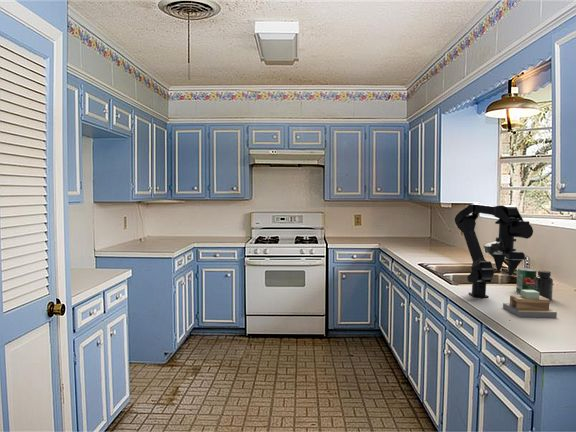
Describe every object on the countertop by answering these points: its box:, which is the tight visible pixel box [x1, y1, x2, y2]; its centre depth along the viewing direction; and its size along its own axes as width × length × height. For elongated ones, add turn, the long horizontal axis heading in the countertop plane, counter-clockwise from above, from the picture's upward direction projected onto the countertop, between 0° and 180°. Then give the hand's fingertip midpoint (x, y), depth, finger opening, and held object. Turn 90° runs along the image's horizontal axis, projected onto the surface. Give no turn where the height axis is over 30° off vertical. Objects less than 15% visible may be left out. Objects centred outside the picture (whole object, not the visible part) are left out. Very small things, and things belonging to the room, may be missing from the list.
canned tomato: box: [515, 267, 538, 294], centre depth 198 cm, size 8×8×11 cm
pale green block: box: [519, 290, 539, 299], centre depth 165 cm, size 4×5×2 cm
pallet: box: [509, 294, 551, 310], centre depth 165 cm, size 6×12×4 cm, turn 91°
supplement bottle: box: [535, 270, 554, 301], centre depth 188 cm, size 7×7×12 cm
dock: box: [502, 302, 558, 319], centre depth 165 cm, size 12×14×2 cm
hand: (504, 273), depth 176 cm, fingers open, 9 cm apart
